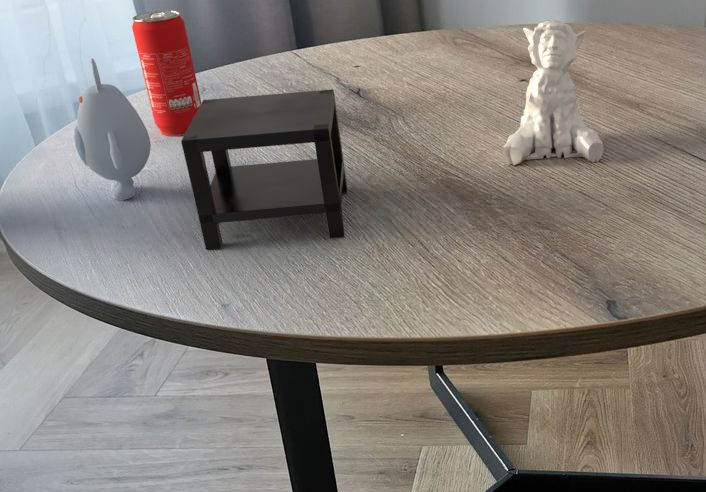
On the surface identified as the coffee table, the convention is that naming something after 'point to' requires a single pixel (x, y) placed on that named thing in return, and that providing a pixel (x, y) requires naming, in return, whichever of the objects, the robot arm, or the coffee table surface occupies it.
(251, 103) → the miniature side table
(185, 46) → the beverage can
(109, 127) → the toy figure
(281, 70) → the coffee table surface
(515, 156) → the seated beast figurine
